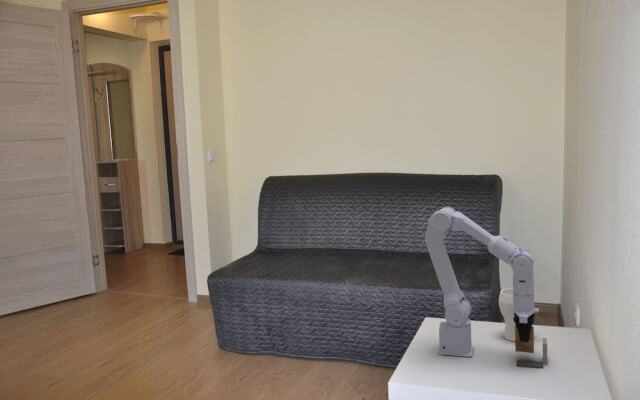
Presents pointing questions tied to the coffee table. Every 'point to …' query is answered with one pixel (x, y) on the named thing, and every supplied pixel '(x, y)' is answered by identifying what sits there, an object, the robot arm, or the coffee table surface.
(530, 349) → the brown wooden block
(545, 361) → the tile
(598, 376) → the coffee table surface
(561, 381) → the coffee table surface
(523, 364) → the pad
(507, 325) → the cream vase
